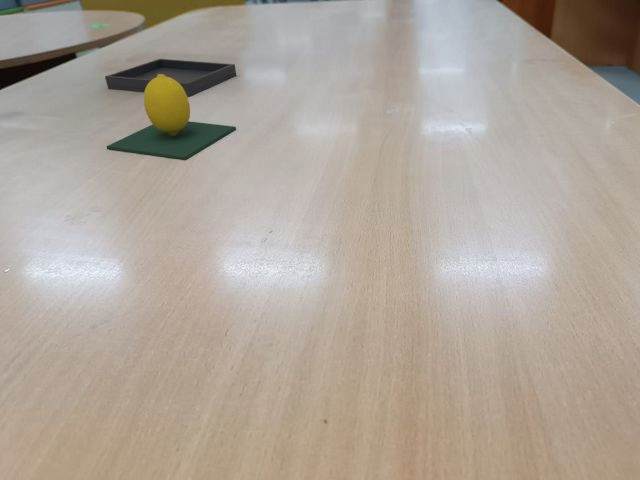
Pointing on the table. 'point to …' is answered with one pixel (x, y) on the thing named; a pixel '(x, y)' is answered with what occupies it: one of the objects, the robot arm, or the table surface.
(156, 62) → the tray
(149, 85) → the lemon
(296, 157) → the table surface
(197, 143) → the mat
